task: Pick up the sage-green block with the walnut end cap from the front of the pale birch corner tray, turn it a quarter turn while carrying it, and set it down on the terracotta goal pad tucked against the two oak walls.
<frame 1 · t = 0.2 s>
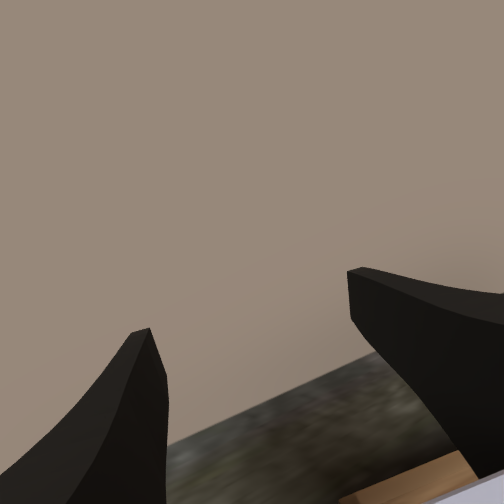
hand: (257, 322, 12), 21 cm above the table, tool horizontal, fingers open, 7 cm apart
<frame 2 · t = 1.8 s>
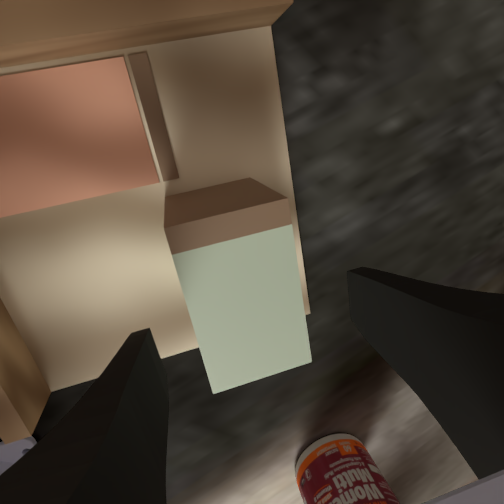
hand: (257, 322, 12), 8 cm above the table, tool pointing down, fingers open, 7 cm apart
corner arena: (135, 216, 17), on the table
sage block: (223, 253, 19), resting on corner arena
pill bottle: (327, 457, 27), on the table
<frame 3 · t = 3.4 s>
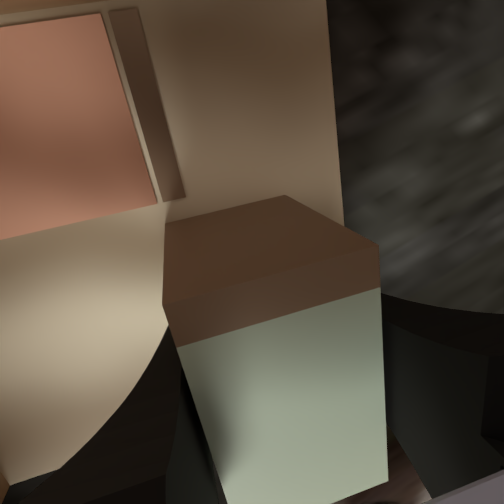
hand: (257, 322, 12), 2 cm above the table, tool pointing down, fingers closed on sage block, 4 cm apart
corner arena: (123, 250, 12), on the table
sage block: (246, 297, 13), resting on corner arena, touching gripper
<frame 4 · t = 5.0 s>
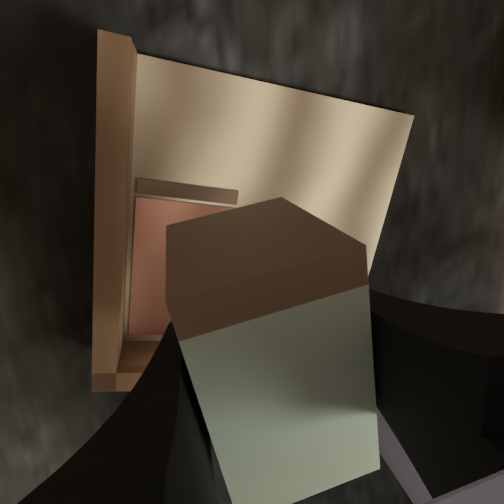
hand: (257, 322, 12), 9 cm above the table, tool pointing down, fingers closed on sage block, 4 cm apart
corner arena: (253, 235, 21), on the table
sage block: (244, 295, 14), point 7 cm above the table, touching gripper
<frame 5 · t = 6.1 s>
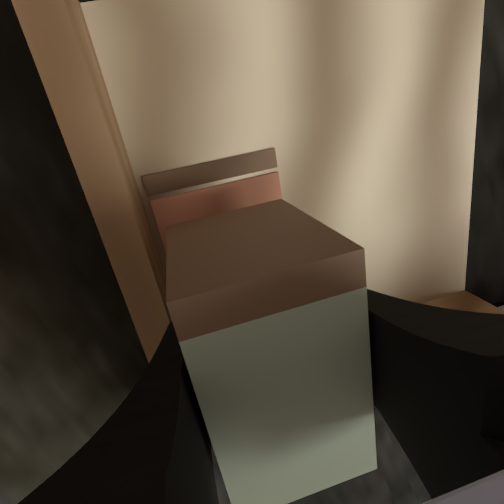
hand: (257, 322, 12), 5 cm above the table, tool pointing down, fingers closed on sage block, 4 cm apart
corner arena: (310, 199, 16), on the table
sage block: (244, 296, 14), point 2 cm above the table, touching gripper
when the fingers open (4 cm above the table, at t = 7.0 s): sage block drops 1 cm, resting on corner arena.
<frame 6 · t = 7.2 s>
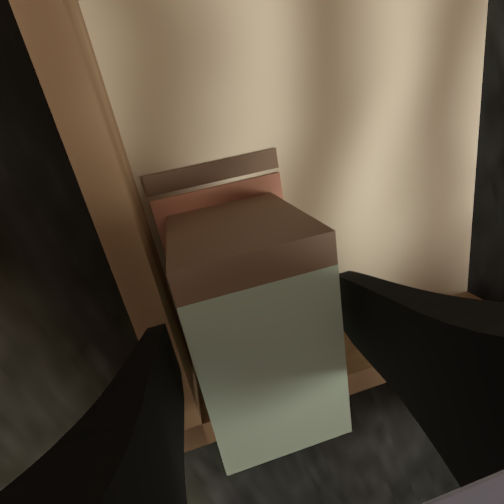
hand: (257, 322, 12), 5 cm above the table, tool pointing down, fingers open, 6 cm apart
corner arena: (311, 200, 16), on the table
sage block: (237, 282, 15), point 1 cm above the table, touching corner arena
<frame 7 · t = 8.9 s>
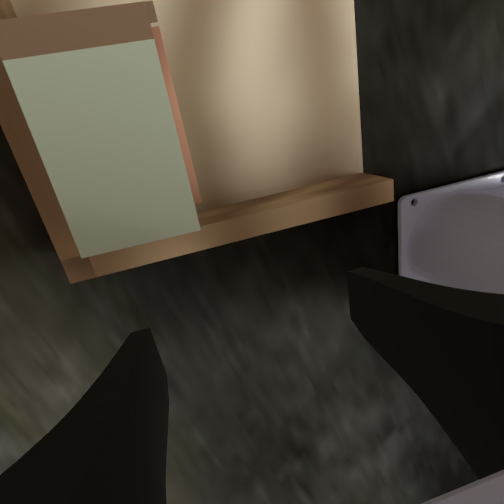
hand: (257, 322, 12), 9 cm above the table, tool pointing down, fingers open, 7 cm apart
corner arena: (198, 64, 17), on the table
sage block: (129, 138, 17), point 1 cm above the table, touching corner arena
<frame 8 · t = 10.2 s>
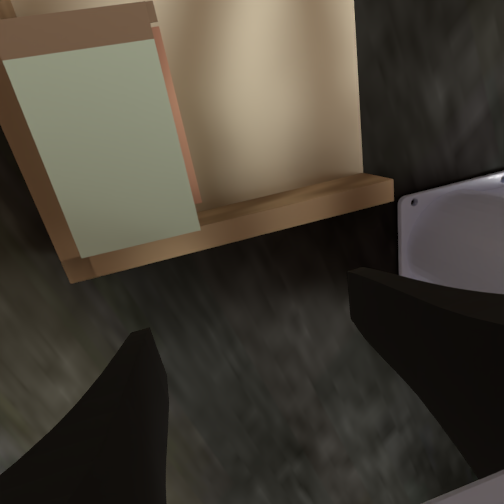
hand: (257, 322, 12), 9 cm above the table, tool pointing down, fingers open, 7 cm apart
corner arena: (198, 64, 17), on the table
sage block: (129, 138, 17), point 1 cm above the table, touching corner arena
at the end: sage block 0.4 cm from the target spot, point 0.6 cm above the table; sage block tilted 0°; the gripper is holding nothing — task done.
